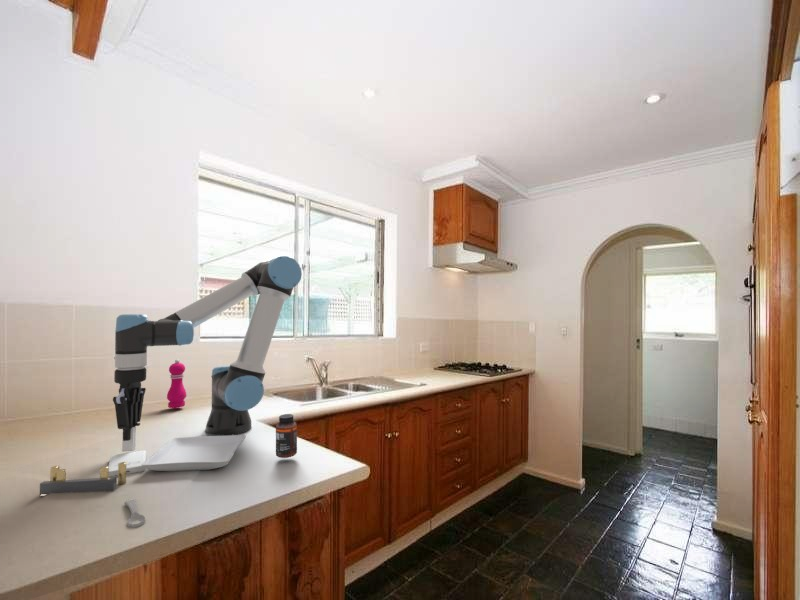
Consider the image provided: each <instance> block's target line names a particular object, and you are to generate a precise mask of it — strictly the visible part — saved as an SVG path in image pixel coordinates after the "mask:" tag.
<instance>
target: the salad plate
mask: <svg viewBox="0 0 800 600" xmlns="http://www.w3.org/2000/svg"><path fill="white" fill-rule="evenodd" d="M246 436H247V435H244V434H234V435H209V436H208V435H207V436H206V435H205V436H202V435H200V436H187V437H186V436H185V437H175V438H173V439H171V440H170V441H168V442H167V443H166V444H165V445H164V446H162V447H161V448H160V449H158V450H157V451H156V452H154V453H153V455H151V456H150V457H149V458H146V461H145V462H144V463H143V464H142V466H143V467H144V468H146V469H147V470H150V471H157V472H159V471H162V472H177V471H178V472H180V471H196V470H200V471H206V470H215V469H218V468H219V469H220V468H222V467H225V466H226V465H228V464H229V463H230V461H231V460H232V458H233V457H234V454H235V452H236V451H237V449H238V448H239V447H240V446H241V444H242V443H243V442H244V441H245V438H246Z"/></svg>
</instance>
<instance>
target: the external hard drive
mask: <svg viewBox="0 0 800 600" xmlns="http://www.w3.org/2000/svg"><path fill="white" fill-rule="evenodd" d="M146 460H147V450H145V449H143V450H137V451H135V450H134V451H128V452H123V453H119V454H113V455H111V456H110V459H109V462H108V467H109V476H112V477H116V476H115V475H118V464H119V463H121V462H126V475H128V474H133V473H134V474H135V473H140V472H144V471H146V468H144V467H143V466H142V464H143V463H144V462H145V461H146Z"/></svg>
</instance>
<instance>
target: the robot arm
mask: <svg viewBox="0 0 800 600" xmlns="http://www.w3.org/2000/svg"><path fill="white" fill-rule="evenodd" d="M302 277H303V276H302V268H301V266H300V263H298V261H297V260H296V259H295V258H293V257H291V256H288V255H276V256H273V257H270V258H266V259H264V260H262V261H260V262H259V263H257V264H256V265H254V266H252V267H251V268H250V269H248V270H246V271H245V272H243V273H241V276H240V277H239V278H237V279H235V280H233V281H231V282H229V283H228V284H226V285H224V286H222V287H220V288H219V289H218V288H217V290H214V291H213V292H211V293H209V294H207V295H205V296H203V297H202V298H199V299H198V300H195V301H193V302H192V303H190V304H188V305H186V306H185V307H183V308H181V309H179V310H177V311H175V312H174V313H172V314H170V315H168V316H165V317H164V318H160V319H158V320H155V321H154V320H149V318H148V315H147V314H145V313H144V314H142V313H138V314H134V313H133V314H131V313H127V314H120V315H118V316H117V317H116V321H115V331H114V332H115V334H114V335H115V336H114V337H115V339H114V340H115V341H114V343H115V345H114V346H115V348H114V350H115V353H114V354H115V355H114V358H113V359H114V368H116V369H115V370H114V377H113V378H114V379H113V380H114V383H115V384H118V385H119V388H118V395H117V396H113V397H112V402H113V404H114V408H115V409H114V410H115V417H116V426H117V429H118V430H122V440H121V441H122V444H121V445H122V448H121V451H122V452H123V453H128V452H135V450H136V441H137V440H136V436H137V427H139V426H140V425H141V418H142V413H143V412H142V411H143V405H144V404H143V403H144V398H145V393H146V390H147V389H146V387H142V382H144V381H146V380H147V368H146V366H147V365H148V359H147V357H148V355H147V354H148V353H147V352H148V347H161V346H162V347H163V346H167V347H168V346H180V347H181V346H185V345H190V344H192V343H193V341H194V332H195V330H194V329H195V328H196V327H198V326H200V325H202V324H203V323H205V322H207V321H209V320H210V319H212V318H215V317H216V316H217V315H219V314H221V313H223V312H225V311H226V310H229V309H230V308H232V307H233V306H235V305H237V304H239V303H240V302H242V301H244V300H246V299H247V298H250V297H251V296H255V297H256V296H258V297H257V298H258V299H257V300H256V304H255V307H254V309H253V313H252V315H251V318H250V321H249V324H248V327H247V330H246V334H245V335H244V339H243V342H242V344H241V348H240V350H239V353H238V356H237V359H236V360H235V361H233V362H231V363H230V365H226V366H225V365H224V366H216V367H213V369H212V370H211V411H210V413H209V416H208V418H207V422H206V425H205V432H206V434H208V435H211V436H229V435H232V434H234V435H239V434H241V433H245V432H247V431H250V429H252V418H251V415H250V412H249V410H251V409H253V408H254V407H256V406H257V405H258V404H259V403H261V401H262V399H263V397H264V393H265V388H264V387H265V386H264V384H263V383H264V382H263V381H264V378H265V375H266V371H265V369H264V364H265V362H266V357H267V354H268V351H269V349H270V345H271V342H272V340H273V336H274V333H275V330H276V327H277V324H278V321H279V317H280V315H281V312H282V309H283V305H284V302H285V301H287V300H288V299H290V298H291V296H292V293H293V290H294V288H295V287H296V286H297V285H299V284H300V282H301V280H302ZM238 433H239V434H238Z"/></svg>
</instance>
